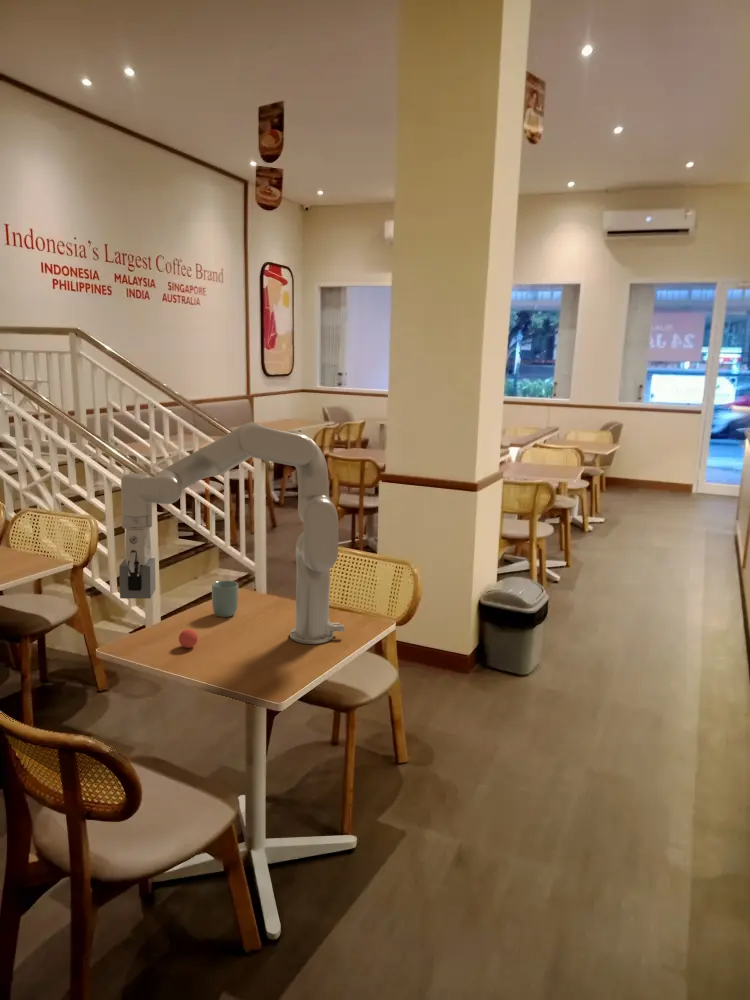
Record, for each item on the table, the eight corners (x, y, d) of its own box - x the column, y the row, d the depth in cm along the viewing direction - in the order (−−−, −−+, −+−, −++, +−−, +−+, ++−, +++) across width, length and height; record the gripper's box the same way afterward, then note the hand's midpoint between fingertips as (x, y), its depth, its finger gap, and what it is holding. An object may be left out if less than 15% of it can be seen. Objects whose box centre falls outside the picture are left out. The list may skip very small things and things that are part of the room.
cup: (207, 617, 218) (207, 586, 216) (220, 609, 225) (220, 579, 223) (230, 621, 215) (230, 589, 213) (242, 612, 223) (242, 582, 221)
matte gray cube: (155, 589, 194) (155, 558, 192) (150, 598, 187) (150, 566, 185) (126, 589, 193) (125, 557, 191) (120, 598, 186) (119, 565, 184)
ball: (198, 643, 197) (198, 626, 197) (196, 650, 193) (196, 633, 192) (180, 643, 197) (180, 626, 196) (177, 650, 192) (177, 633, 191)
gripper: (145, 528, 178) (146, 595, 181) (157, 514, 195) (157, 575, 198) (114, 528, 177) (116, 595, 180) (128, 513, 194) (129, 575, 197)
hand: (137, 584), depth 189 cm, fingers closed on matte gray cube, 7 cm apart
